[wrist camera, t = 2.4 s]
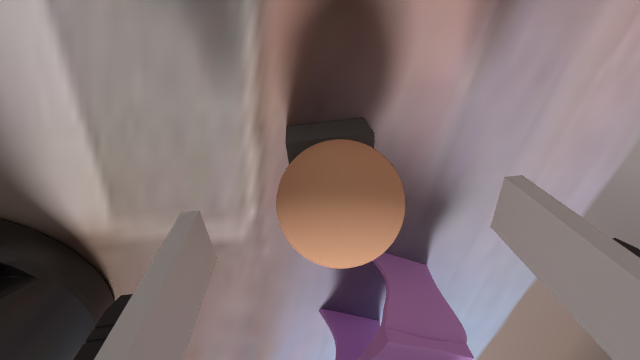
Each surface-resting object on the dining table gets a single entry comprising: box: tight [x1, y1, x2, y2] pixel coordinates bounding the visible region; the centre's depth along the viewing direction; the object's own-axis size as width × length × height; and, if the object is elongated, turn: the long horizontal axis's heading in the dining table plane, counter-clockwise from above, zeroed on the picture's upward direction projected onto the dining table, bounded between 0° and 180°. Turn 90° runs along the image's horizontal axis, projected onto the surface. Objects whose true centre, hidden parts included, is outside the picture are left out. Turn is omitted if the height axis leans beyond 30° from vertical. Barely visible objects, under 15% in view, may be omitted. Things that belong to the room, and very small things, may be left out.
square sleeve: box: [286, 118, 374, 164], centre depth 17 cm, size 5×5×2 cm
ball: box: [276, 139, 405, 269], centre depth 13 cm, size 6×6×6 cm
